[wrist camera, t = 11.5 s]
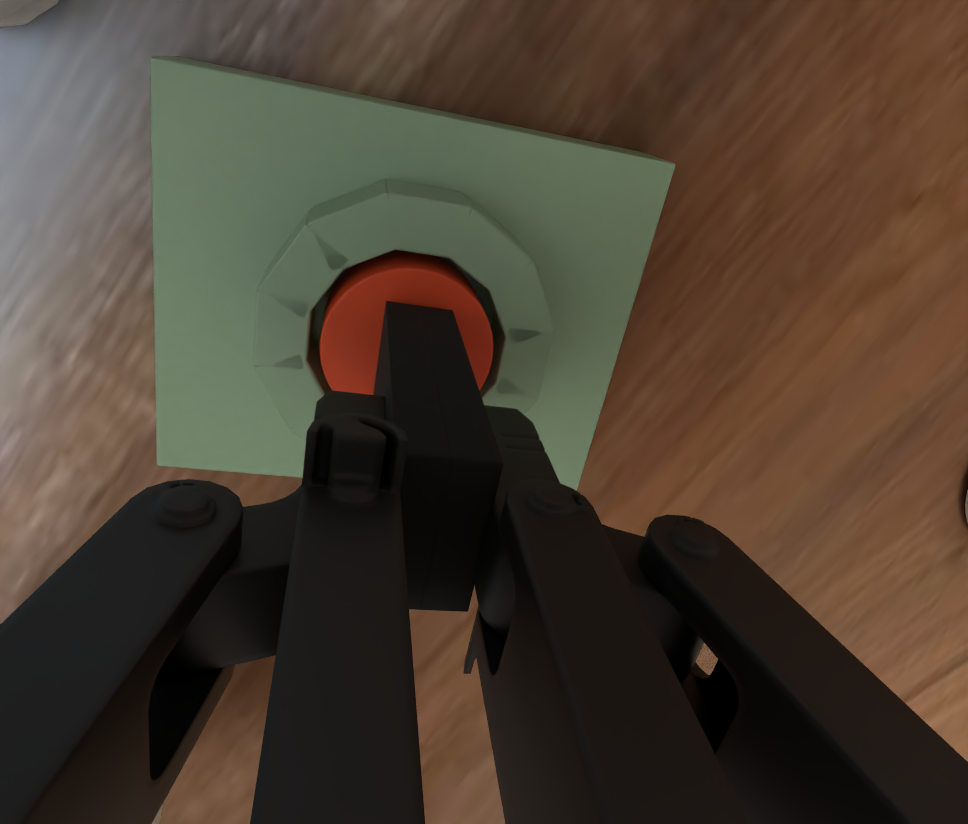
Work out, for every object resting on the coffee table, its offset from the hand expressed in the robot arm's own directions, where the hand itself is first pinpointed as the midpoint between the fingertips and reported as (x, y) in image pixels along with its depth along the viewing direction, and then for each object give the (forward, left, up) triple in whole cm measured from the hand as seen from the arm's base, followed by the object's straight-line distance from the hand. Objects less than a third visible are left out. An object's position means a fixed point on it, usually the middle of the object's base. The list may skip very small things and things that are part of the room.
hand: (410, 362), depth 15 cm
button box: (0, 0, -5) cm, 5 cm away
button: (0, 0, -2) cm, 2 cm away
